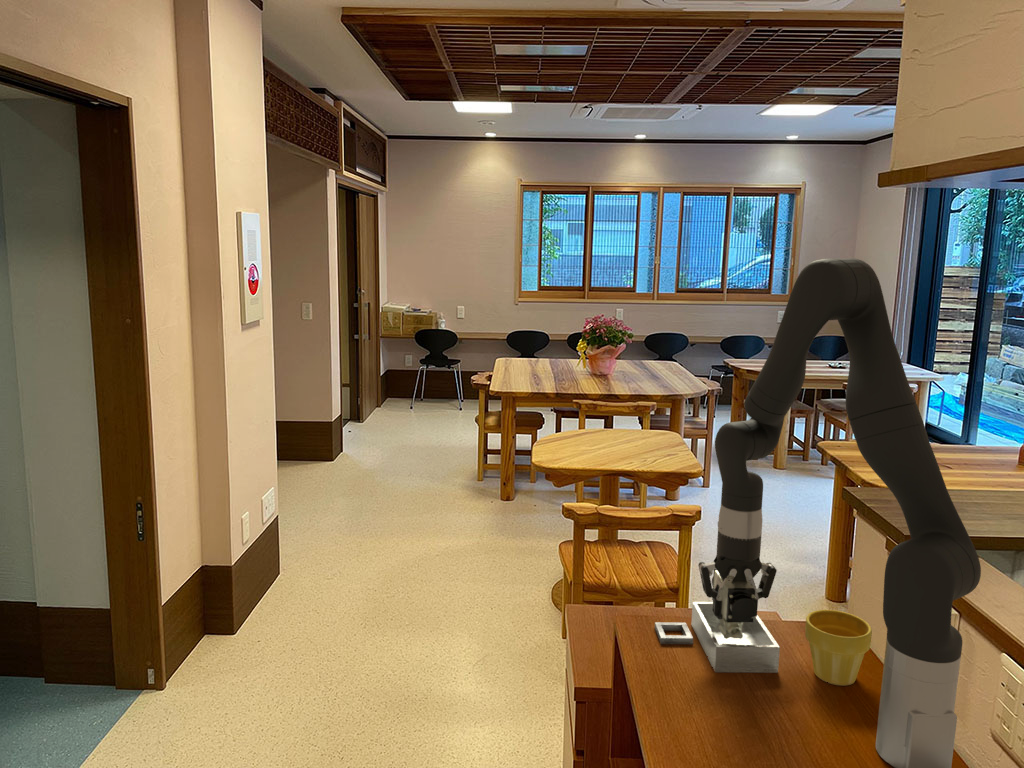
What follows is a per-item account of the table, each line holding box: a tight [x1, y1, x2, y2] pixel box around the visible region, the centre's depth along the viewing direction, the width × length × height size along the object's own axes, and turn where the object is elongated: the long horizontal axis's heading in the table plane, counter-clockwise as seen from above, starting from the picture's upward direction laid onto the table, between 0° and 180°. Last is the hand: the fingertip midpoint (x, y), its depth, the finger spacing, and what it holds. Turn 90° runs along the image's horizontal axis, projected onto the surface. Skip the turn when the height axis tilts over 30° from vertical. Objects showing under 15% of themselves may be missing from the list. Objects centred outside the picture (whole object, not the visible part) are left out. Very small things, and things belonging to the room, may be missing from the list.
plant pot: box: [804, 609, 873, 687], centre depth 126 cm, size 10×10×10 cm
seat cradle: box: [690, 601, 781, 674], centre depth 135 cm, size 17×11×5 cm, turn 0°
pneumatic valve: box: [711, 569, 759, 639], centre depth 134 cm, size 6×12×12 cm, turn 2°
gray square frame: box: [654, 621, 694, 645], centre depth 140 cm, size 6×6×1 cm
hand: (734, 617), depth 135 cm, fingers closed on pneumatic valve, 5 cm apart
